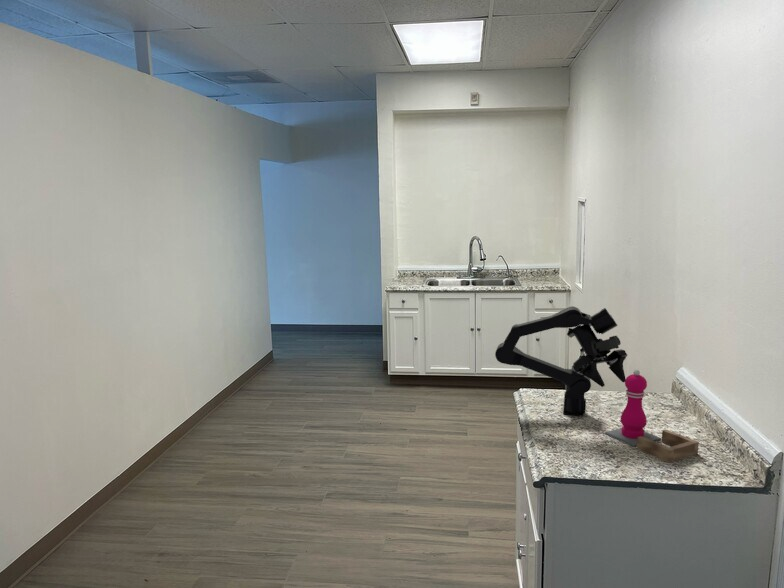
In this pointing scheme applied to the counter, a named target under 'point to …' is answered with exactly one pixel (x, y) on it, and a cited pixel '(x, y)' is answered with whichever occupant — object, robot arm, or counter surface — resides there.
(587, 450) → the counter surface
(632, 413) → the pepper mill
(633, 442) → the rubber mat
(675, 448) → the walnut cradle
